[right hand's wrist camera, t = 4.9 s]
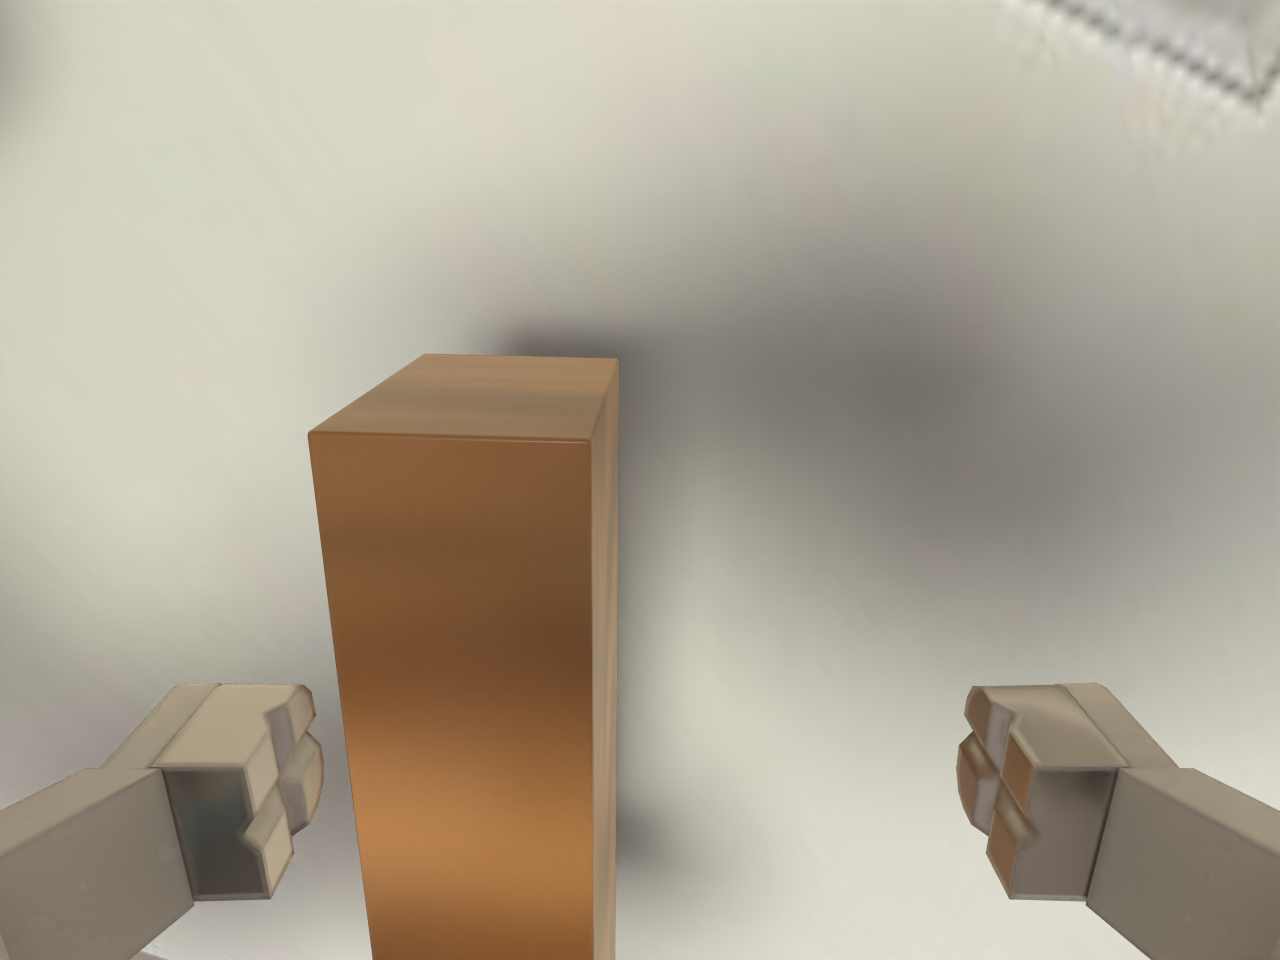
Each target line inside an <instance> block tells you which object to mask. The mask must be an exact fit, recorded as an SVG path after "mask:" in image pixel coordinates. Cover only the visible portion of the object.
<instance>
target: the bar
mask: <svg viewBox="0 0 1280 960" xmlns="http://www.w3.org/2000/svg"><path fill="white" fill-rule="evenodd" d="M308 442H309V450H310V458H311V467H312V475H313V483H314V491H315V499H316V507H317V515H318V523H319V531H320V539H321V547H322V555H323V563H324V571H325V579H326V587H327V595H328V603H329V611H330V619H331V627H332V635H333V643H334V651H335V659H336V667H337V676H338V684H339V692H340V700H341V708H342V716H343V724H344V732H345V740H346V748H347V756H348V764H349V772H350V780H351V788H352V796H353V804H354V812H355V820H356V828H357V836H358V844H359V852H360V860H361V868H362V877H363V885H364V893H365V901H366V909H367V917H368V925H369V933H370V941H371V949H372V957H373V960H615V904H616V752H617V601H618V449H619V360H618V359H616V358H584V357H541V356H499V355H457V354H424V355H422V356H421V357H419V358H418V359H416V360H415V361H413V362H412V363H410V364H409V365H407V366H406V367H404V368H403V369H401V370H400V371H398V372H397V373H395V374H394V375H392V376H391V377H389V378H388V379H386V380H385V381H383V382H382V383H380V384H379V385H377V386H376V387H374V388H373V389H371V390H370V391H368V392H367V393H365V394H364V395H362V396H361V397H360V398H358V399H357V400H355V401H354V402H352V403H351V404H349V405H348V406H346V407H345V408H343V409H342V410H340V411H339V412H337V413H336V414H334V415H333V416H331V417H330V418H328V419H327V420H325V421H324V422H322V423H321V424H319V425H318V426H316V427H315V428H313V429H312V430H310V431H309V432H308Z"/></svg>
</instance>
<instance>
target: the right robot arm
mask: <svg viewBox="0 0 1280 960" xmlns="http://www.w3.org/2000/svg"><path fill="white" fill-rule="evenodd" d="M315 716H316V713H315V708H314V703H313V698H312V693H311V691H310V690H309V689H308V688H307V687H306V686H304V685H276V684H228V683H226V684H220V683H185V684H182V685H178V686H175V687H174V688H173V689H172V690H171V691H170V692H169V693H168V694H167V695H166V696H165V698H164V699H163V700H162V701H161V702H160V703H159V704H158V705H157V706H156V707H155V708H154V710H153V711H152V712H151V713H150V714H149V715H148V716H147V717H146V718H145V719H144V721H143V722H142V723H141V724H140V725H139V726H138V727H137V728H136V729H135V730H134V732H133V733H132V734H131V735H130V736H129V737H128V738H127V739H126V740H125V741H124V743H123V744H122V745H121V746H120V747H119V748H118V749H117V750H116V751H115V752H114V753H113V755H112V756H111V757H110V758H109V759H108V760H107V761H106V762H105V763H104V764H103V766H102V767H101V768H86V769H84V770H82V771H80V772H78V773H76V774H74V775H72V776H70V777H68V778H66V779H64V780H62V781H60V782H58V783H56V784H54V785H52V786H50V787H48V788H46V789H44V790H42V791H40V792H38V793H36V794H34V795H32V796H30V797H28V798H25V799H23V800H21V801H19V802H17V803H15V804H13V805H11V806H9V807H7V808H5V809H3V810H1V811H0V960H129V959H131V958H132V957H133V956H134V955H135V954H137V953H138V952H139V951H140V950H141V949H143V948H144V947H145V946H146V945H147V944H149V943H150V942H151V941H152V940H153V939H155V938H156V937H157V936H158V935H159V934H161V933H162V932H163V931H164V930H165V929H167V928H168V927H169V926H170V925H171V924H173V923H174V922H175V921H176V920H177V919H179V918H180V917H181V916H182V915H183V914H185V913H186V912H187V911H188V910H189V909H191V908H192V907H193V906H194V902H193V901H226V900H260V899H271V897H272V895H273V893H274V891H275V890H276V888H277V886H278V884H279V882H280V880H281V878H282V876H283V874H284V872H285V870H286V868H287V866H288V864H289V862H290V860H291V858H292V856H293V854H294V850H293V844H292V838H291V836H293V835H294V834H296V833H297V832H299V831H300V830H301V829H303V828H304V827H306V826H307V825H308V824H309V823H310V821H311V819H312V816H313V814H314V812H315V810H316V808H317V806H318V802H319V797H320V793H321V789H322V784H323V756H322V749H321V745H320V744H319V743H318V742H317V741H316V740H315V739H314V738H313V737H312V736H311V735H310V734H309V733H308V732H307V729H308V728H309V726H310V724H311V722H312V721H313V719H314V717H315ZM964 716H965V717H966V719H967V721H968V723H969V724H970V726H971V728H972V729H973V732H972V733H971V734H970V735H969V736H968V737H967V738H966V739H965V740H964V741H963V742H962V743H961V744H960V745H959V750H958V758H957V766H956V771H957V782H958V792H959V795H960V798H961V802H962V805H963V808H964V810H965V812H966V815H967V817H968V819H969V821H970V823H971V825H973V826H974V827H976V828H977V829H979V830H980V831H981V832H983V833H984V834H986V835H987V836H989V838H988V844H987V850H986V855H987V856H988V858H989V860H990V862H991V864H992V866H993V868H994V870H995V872H996V874H997V876H998V878H999V880H1000V882H1001V884H1002V886H1003V888H1004V889H1005V891H1006V893H1007V895H1008V897H1009V899H1017V900H1053V901H1086V906H1087V907H1089V908H1090V909H1091V910H1092V911H1093V912H1095V913H1096V914H1097V915H1098V916H1099V917H1101V918H1102V919H1103V920H1104V921H1105V922H1107V923H1108V924H1109V925H1110V926H1111V927H1113V928H1114V929H1115V930H1116V931H1117V932H1119V933H1120V934H1121V935H1122V936H1123V937H1125V938H1126V939H1127V940H1128V941H1129V942H1130V943H1132V944H1133V945H1134V946H1135V947H1136V948H1138V949H1139V950H1140V951H1141V952H1142V953H1144V954H1145V955H1146V956H1147V957H1148V958H1150V959H1151V960H1280V811H1279V810H1277V809H1275V808H1272V807H1270V806H1268V805H1266V804H1264V803H1262V802H1260V801H1258V800H1256V799H1254V798H1252V797H1250V796H1248V795H1246V794H1244V793H1242V792H1240V791H1238V790H1236V789H1234V788H1232V787H1230V786H1228V785H1226V784H1224V783H1222V782H1220V781H1218V780H1216V779H1214V778H1212V777H1210V776H1208V775H1206V774H1204V773H1202V772H1200V771H1198V770H1196V769H1194V768H1179V767H1178V766H1177V765H1176V763H1175V762H1174V761H1173V760H1172V759H1171V758H1170V757H1169V756H1168V755H1167V754H1166V752H1165V751H1164V750H1163V749H1162V748H1161V747H1160V746H1159V745H1158V744H1157V743H1156V741H1155V740H1154V739H1153V738H1152V737H1151V736H1150V735H1149V734H1148V733H1147V732H1146V730H1145V729H1144V728H1143V727H1142V726H1141V725H1140V724H1139V723H1138V722H1137V721H1136V719H1135V718H1134V717H1133V716H1132V715H1131V714H1130V713H1129V712H1128V711H1127V710H1126V708H1125V707H1124V706H1123V705H1122V704H1121V703H1120V702H1119V701H1118V700H1117V699H1116V698H1115V696H1114V695H1113V694H1112V693H1111V692H1110V691H1109V690H1108V689H1107V688H1106V687H1104V686H1102V685H1100V684H1098V683H1072V684H1055V685H1016V686H972V688H971V690H970V692H969V694H968V696H967V701H966V706H965V712H964Z"/></svg>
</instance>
